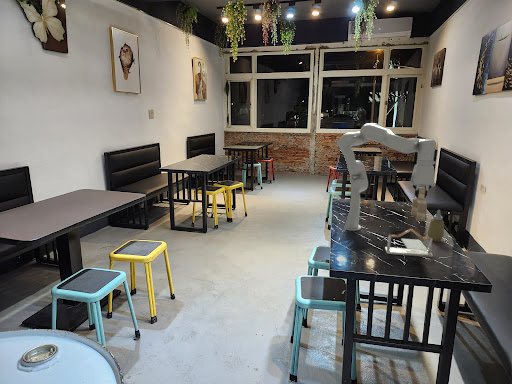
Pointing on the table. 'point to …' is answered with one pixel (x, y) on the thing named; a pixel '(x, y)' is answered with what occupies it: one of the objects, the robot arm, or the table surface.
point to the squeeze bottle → (436, 227)
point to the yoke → (419, 205)
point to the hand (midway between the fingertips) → (420, 196)
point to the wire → (409, 251)
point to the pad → (413, 244)
